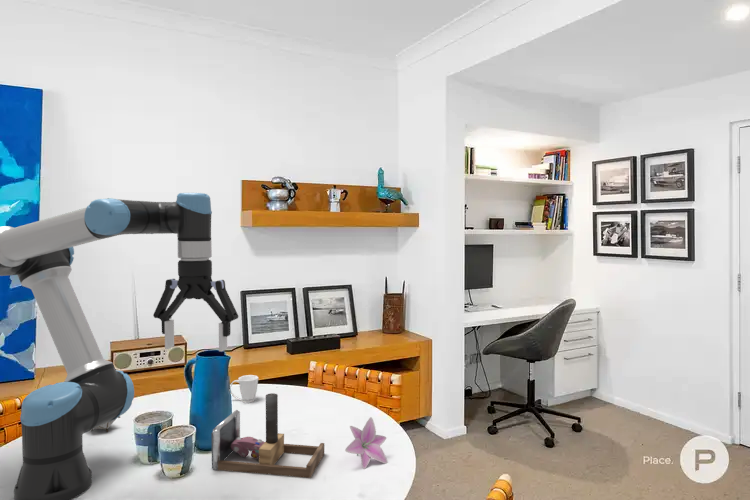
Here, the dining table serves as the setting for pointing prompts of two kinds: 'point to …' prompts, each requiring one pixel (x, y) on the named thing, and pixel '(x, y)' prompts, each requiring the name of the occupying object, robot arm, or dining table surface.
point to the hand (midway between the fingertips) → (196, 348)
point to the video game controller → (247, 446)
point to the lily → (367, 443)
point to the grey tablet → (224, 438)
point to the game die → (105, 425)
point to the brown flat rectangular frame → (280, 469)
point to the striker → (271, 433)
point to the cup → (247, 388)
